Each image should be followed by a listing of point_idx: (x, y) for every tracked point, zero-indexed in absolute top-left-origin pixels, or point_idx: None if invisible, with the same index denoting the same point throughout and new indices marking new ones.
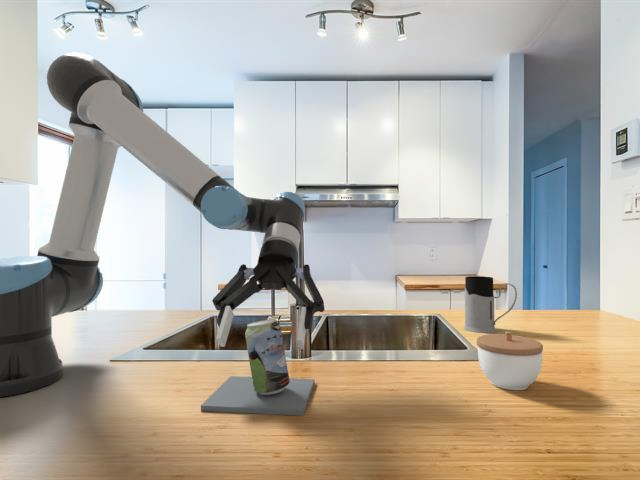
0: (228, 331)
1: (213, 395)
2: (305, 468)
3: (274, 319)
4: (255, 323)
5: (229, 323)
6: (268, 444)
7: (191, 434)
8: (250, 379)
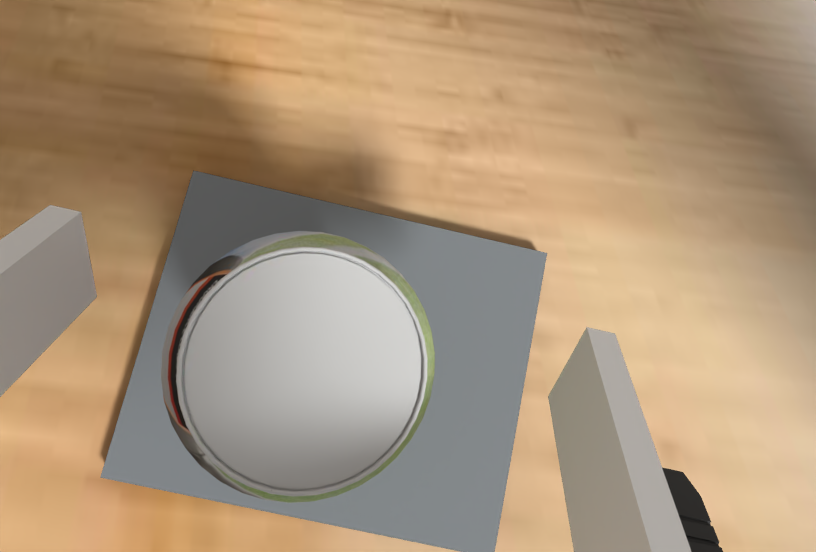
0: (567, 478)
1: (522, 337)
2: None
3: (190, 418)
4: (362, 382)
5: (586, 517)
6: (311, 27)
7: (528, 108)
8: (397, 503)
